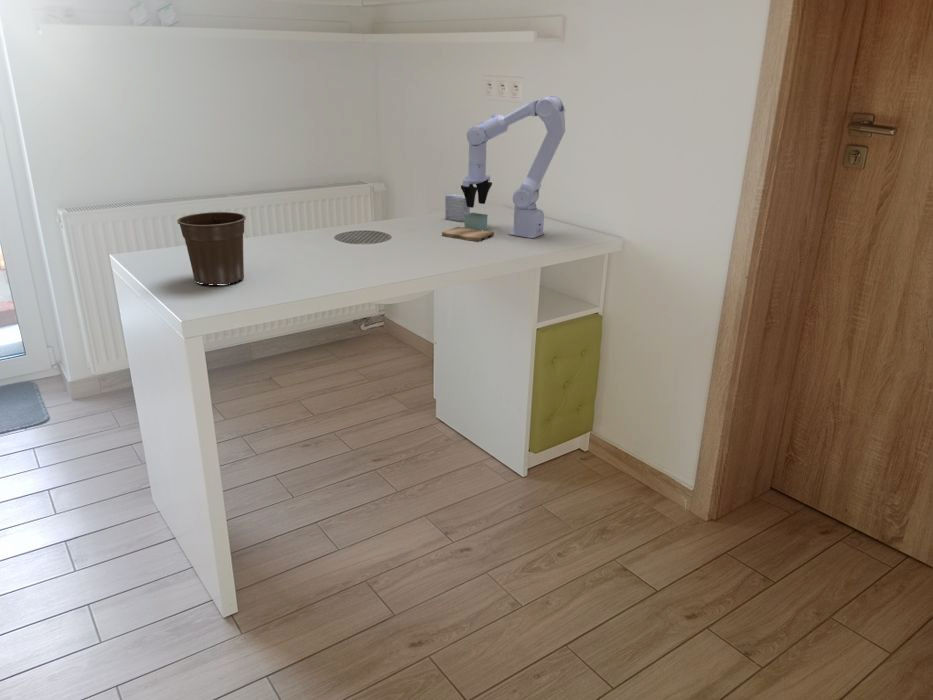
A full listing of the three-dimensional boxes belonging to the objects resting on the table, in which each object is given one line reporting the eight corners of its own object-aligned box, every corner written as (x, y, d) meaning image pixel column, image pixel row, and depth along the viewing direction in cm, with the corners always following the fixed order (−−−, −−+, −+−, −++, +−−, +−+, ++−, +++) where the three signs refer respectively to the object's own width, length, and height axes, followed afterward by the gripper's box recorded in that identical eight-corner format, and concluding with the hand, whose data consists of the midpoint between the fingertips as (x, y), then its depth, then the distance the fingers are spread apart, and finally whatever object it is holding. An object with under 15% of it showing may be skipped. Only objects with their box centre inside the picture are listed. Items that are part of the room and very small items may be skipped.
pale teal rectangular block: (487, 229, 243) (487, 214, 241) (479, 232, 239) (479, 217, 237) (471, 226, 246) (472, 212, 244) (464, 229, 242) (464, 215, 240)
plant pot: (177, 277, 185) (168, 215, 178) (237, 267, 194) (231, 208, 188) (198, 293, 173) (189, 227, 167) (261, 282, 182) (255, 219, 176)
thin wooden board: (494, 235, 234) (494, 232, 233) (478, 241, 226) (478, 238, 225) (457, 230, 240) (458, 226, 240) (441, 235, 232) (441, 232, 232)
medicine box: (470, 220, 255) (470, 195, 252) (463, 222, 252) (463, 197, 249) (451, 217, 259) (452, 193, 256) (444, 219, 256) (445, 195, 252)
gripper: (478, 160, 242) (476, 200, 247) (455, 165, 230) (454, 207, 235) (496, 162, 238) (494, 203, 243) (473, 167, 227) (472, 209, 232)
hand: (476, 205), depth 239 cm, fingers open, 7 cm apart
